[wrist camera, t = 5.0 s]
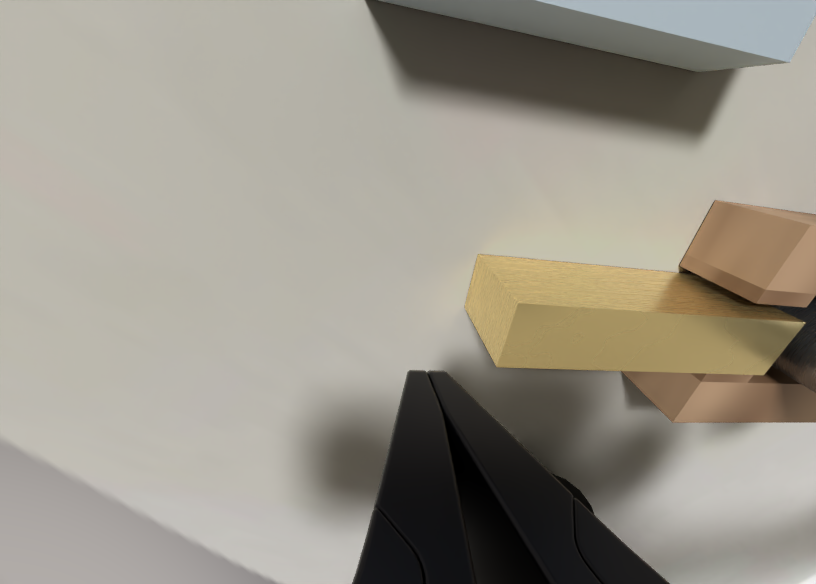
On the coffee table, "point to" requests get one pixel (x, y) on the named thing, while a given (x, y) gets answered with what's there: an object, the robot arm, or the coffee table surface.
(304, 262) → the coffee table surface
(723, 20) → the light blue rectangular frame
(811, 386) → the peg
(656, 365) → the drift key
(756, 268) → the socket block
